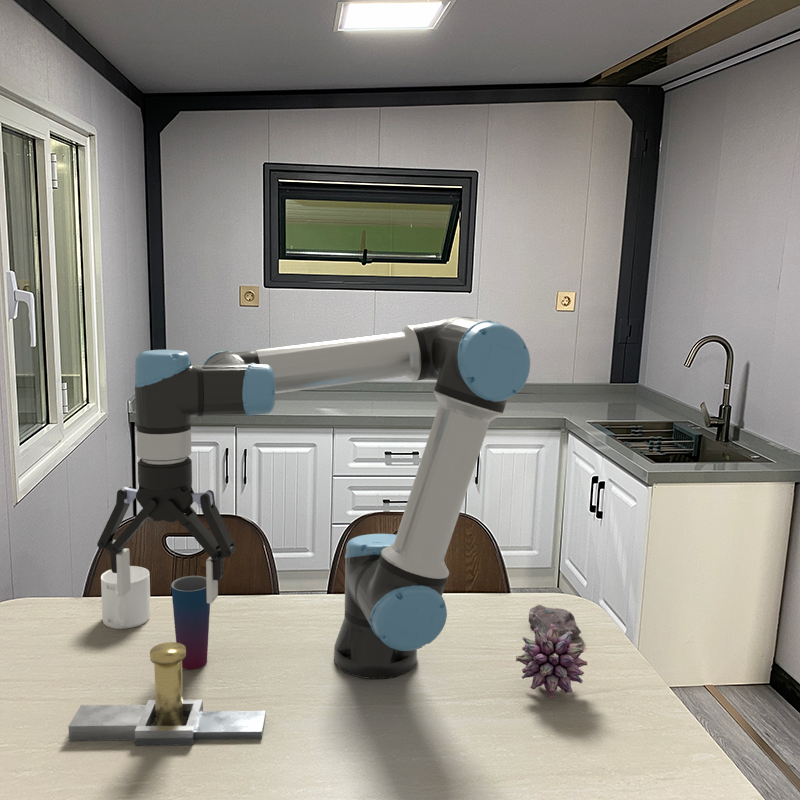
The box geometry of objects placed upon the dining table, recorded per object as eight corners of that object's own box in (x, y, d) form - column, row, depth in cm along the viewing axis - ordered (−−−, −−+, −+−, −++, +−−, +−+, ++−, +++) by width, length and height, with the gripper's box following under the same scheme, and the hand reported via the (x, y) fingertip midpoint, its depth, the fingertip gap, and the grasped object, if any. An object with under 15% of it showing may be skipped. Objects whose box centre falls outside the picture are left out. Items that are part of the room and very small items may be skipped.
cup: (201, 674, 138) (200, 593, 135) (165, 669, 139) (164, 588, 137) (218, 655, 145) (217, 578, 142) (183, 651, 146) (182, 574, 143)
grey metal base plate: (266, 712, 127) (266, 698, 127) (260, 744, 119) (260, 729, 118) (84, 714, 125) (83, 700, 125) (65, 746, 117) (65, 731, 116)
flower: (562, 721, 127) (567, 652, 125) (501, 692, 135) (504, 627, 133) (597, 694, 136) (603, 628, 134) (538, 668, 144) (542, 606, 142)
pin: (192, 720, 124) (190, 643, 122) (179, 740, 119) (178, 660, 117) (160, 718, 125) (158, 640, 122) (146, 737, 120) (144, 657, 117)
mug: (115, 607, 163) (114, 564, 161) (157, 611, 162) (156, 567, 160) (86, 634, 151) (84, 588, 150) (132, 638, 150) (130, 591, 149)
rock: (554, 616, 165) (555, 596, 165) (586, 641, 155) (587, 619, 154) (520, 622, 162) (521, 601, 162) (550, 648, 152) (551, 626, 151)
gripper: (256, 456, 117) (256, 591, 121) (94, 447, 119) (100, 580, 123) (241, 469, 110) (242, 613, 113) (69, 459, 112) (75, 600, 116)
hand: (168, 596), depth 118 cm, fingers open, 13 cm apart
